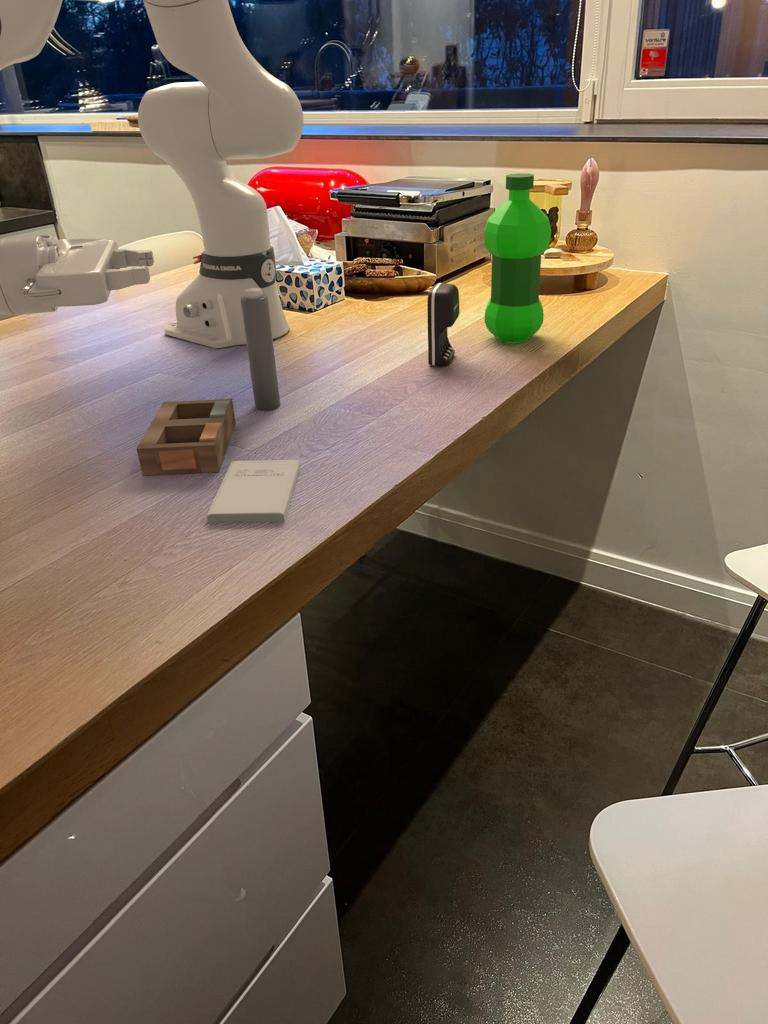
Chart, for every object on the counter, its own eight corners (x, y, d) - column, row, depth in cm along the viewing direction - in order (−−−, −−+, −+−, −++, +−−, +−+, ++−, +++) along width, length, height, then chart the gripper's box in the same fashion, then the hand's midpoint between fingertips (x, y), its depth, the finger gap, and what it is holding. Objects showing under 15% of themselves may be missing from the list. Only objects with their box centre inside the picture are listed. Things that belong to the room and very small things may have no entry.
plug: (250, 408, 108) (233, 292, 100) (265, 399, 111) (250, 285, 102) (270, 412, 106) (255, 294, 98) (285, 403, 109) (272, 288, 101)
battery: (452, 368, 118) (452, 293, 112) (427, 367, 119) (426, 292, 113) (460, 353, 124) (461, 280, 118) (437, 352, 125) (436, 280, 119)
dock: (218, 472, 91) (213, 443, 89) (142, 476, 91) (135, 447, 89) (236, 422, 104) (232, 395, 102) (168, 425, 104) (163, 399, 102)
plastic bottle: (506, 352, 123) (513, 182, 111) (470, 335, 131) (472, 175, 119) (557, 340, 127) (569, 175, 114) (518, 324, 135) (526, 168, 122)
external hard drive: (208, 527, 82) (232, 471, 93) (285, 525, 82) (300, 470, 92) (205, 513, 81) (230, 459, 92) (283, 512, 81) (299, 458, 91)
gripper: (8, 267, 84) (140, 256, 86) (41, 233, 101) (150, 225, 103) (24, 325, 87) (151, 313, 89) (53, 282, 104) (159, 273, 107)
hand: (151, 265), depth 96 cm, fingers open, 8 cm apart
